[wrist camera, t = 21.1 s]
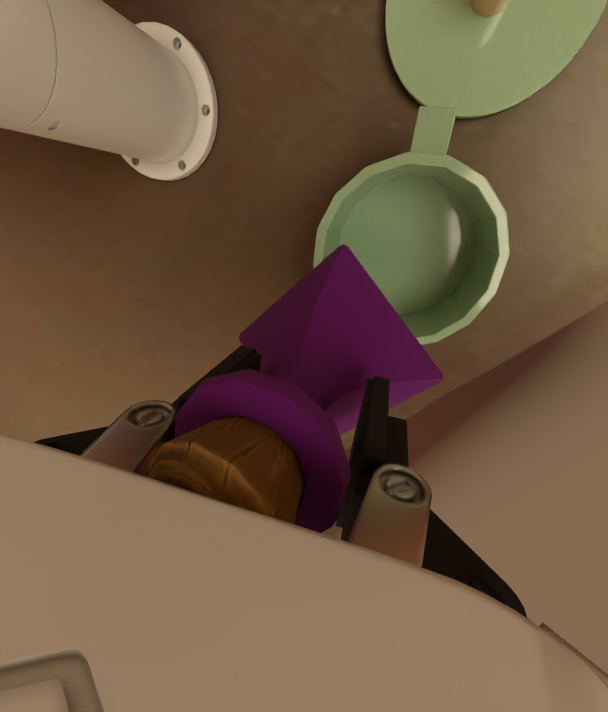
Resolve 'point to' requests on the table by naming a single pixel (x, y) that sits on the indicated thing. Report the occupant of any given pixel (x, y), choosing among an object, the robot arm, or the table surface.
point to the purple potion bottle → (296, 399)
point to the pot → (423, 231)
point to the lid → (484, 48)
